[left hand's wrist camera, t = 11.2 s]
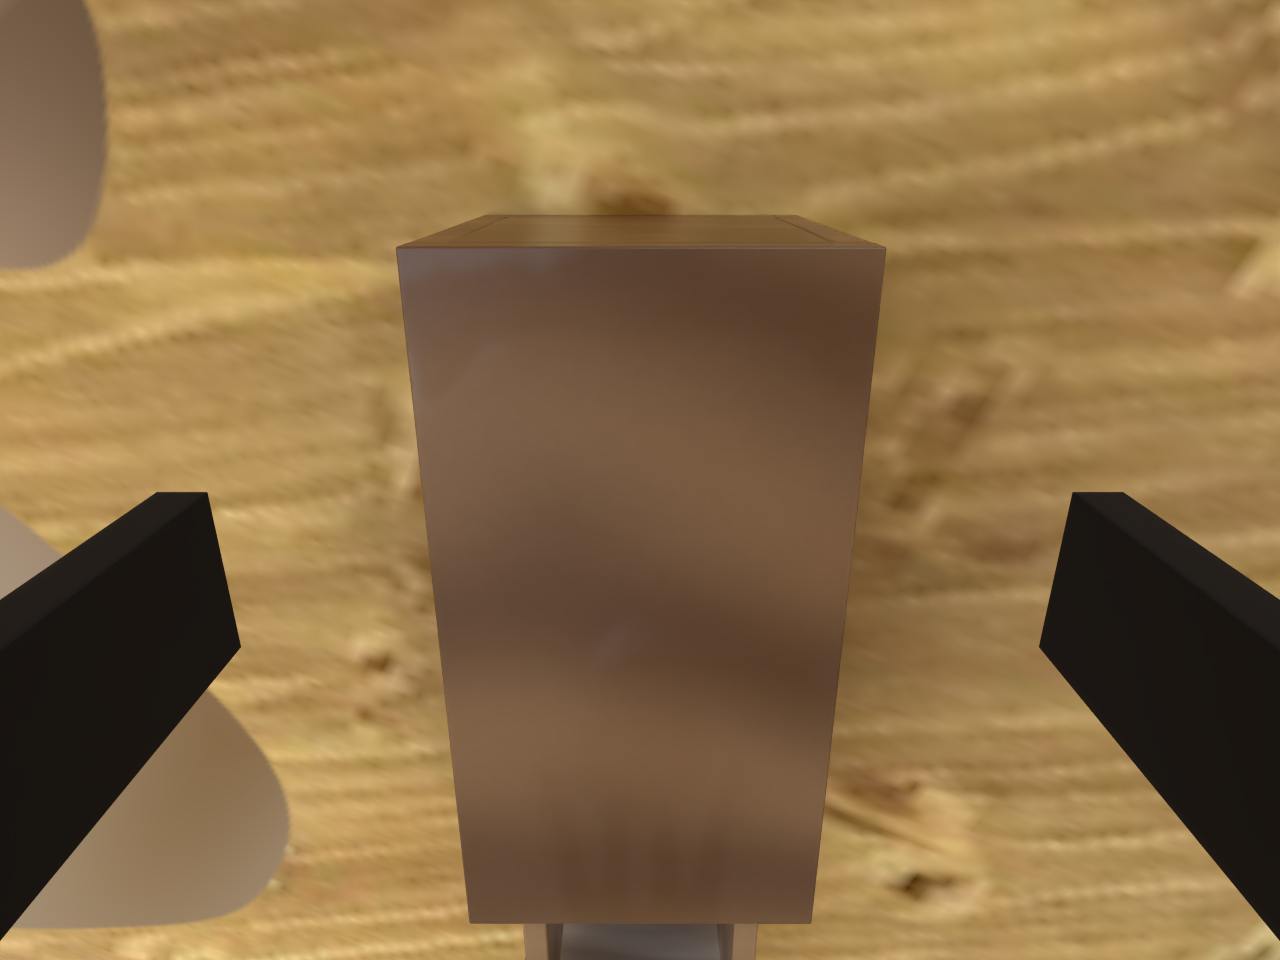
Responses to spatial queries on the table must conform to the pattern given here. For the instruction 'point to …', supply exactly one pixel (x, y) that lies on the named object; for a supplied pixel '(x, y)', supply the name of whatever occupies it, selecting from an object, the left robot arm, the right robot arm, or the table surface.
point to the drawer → (640, 941)
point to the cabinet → (640, 550)
